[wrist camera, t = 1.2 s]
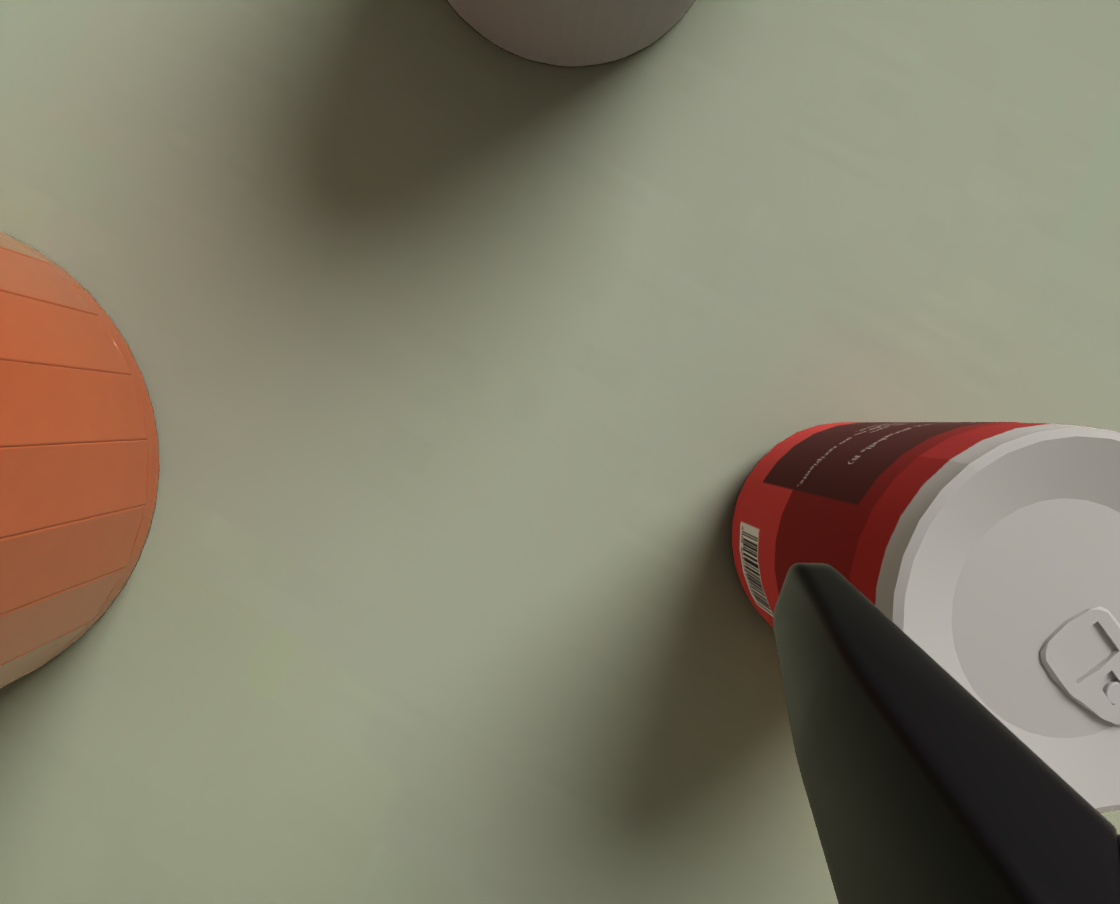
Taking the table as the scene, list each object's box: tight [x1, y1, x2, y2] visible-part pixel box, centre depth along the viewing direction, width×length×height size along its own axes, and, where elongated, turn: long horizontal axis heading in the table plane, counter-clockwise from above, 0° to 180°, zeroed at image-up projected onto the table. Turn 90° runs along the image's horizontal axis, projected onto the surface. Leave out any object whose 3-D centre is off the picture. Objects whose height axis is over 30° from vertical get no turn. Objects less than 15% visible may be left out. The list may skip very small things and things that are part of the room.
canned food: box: [732, 422, 1120, 813], centre depth 20 cm, size 8×8×11 cm
